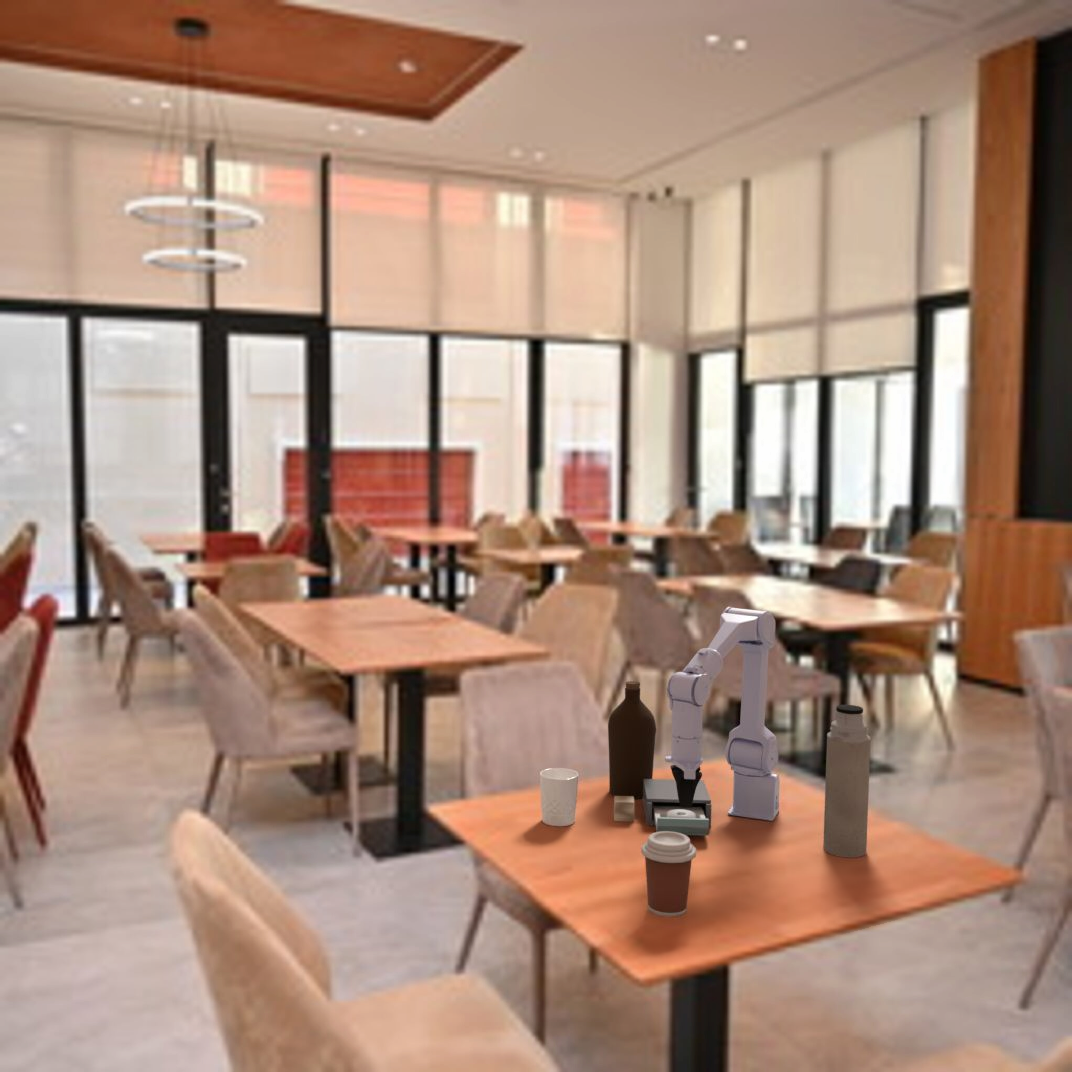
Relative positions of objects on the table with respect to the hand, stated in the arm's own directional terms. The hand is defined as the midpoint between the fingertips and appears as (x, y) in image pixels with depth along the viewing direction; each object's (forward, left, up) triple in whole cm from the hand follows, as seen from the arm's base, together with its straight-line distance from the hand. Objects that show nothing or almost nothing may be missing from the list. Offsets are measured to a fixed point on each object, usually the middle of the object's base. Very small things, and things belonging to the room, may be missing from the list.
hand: (685, 805), depth 204 cm
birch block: (+16, -11, -8) cm, 21 cm away
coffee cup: (-5, +28, -9) cm, 30 cm away
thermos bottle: (-29, -12, -9) cm, 32 cm away
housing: (+6, -18, -8) cm, 21 cm away
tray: (+3, -9, -7) cm, 12 cm away
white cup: (+27, -4, -9) cm, 29 cm away
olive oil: (+19, -28, -9) cm, 35 cm away
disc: (+3, -8, -6) cm, 10 cm away
